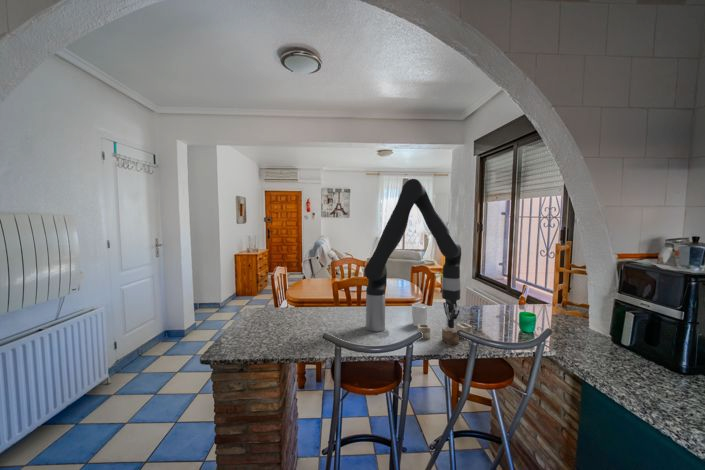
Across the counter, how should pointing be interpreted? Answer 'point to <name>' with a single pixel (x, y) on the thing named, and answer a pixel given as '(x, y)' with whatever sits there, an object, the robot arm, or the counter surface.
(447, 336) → the walnut cube
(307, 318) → the counter surface
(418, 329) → the beech cube left
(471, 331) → the beech cube right
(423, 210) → the robot arm
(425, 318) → the white cup
